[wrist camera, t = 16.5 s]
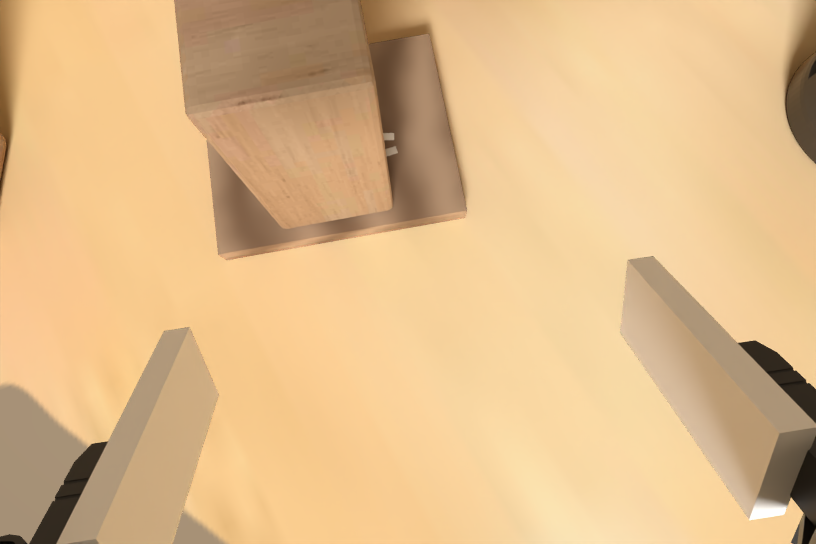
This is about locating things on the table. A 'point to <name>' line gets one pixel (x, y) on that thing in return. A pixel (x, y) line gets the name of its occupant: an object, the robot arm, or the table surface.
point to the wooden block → (288, 103)
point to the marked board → (406, 157)
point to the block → (2, 152)
